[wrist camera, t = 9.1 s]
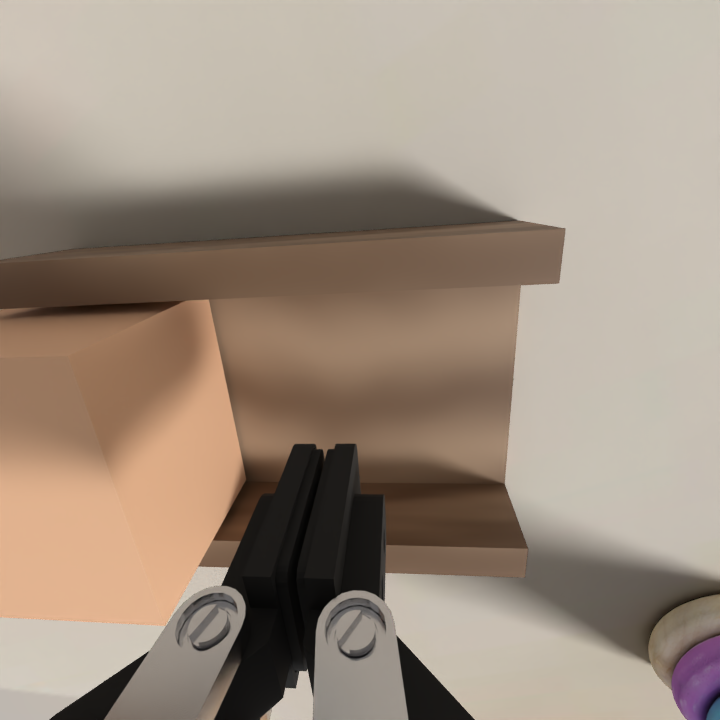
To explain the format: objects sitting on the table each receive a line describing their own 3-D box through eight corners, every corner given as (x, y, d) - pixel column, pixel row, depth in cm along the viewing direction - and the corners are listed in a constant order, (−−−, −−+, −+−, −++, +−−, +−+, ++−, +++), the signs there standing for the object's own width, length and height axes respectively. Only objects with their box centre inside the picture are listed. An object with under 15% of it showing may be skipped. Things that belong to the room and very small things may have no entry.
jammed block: (40, 298, 18) (-196, 363, 11) (206, 290, 17) (68, 356, 10) (106, 478, 22) (-39, 615, 15) (246, 479, 21) (165, 625, 14)
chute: (72, 249, 19) (-37, 265, 14) (518, 220, 16) (565, 228, 12) (150, 491, 24) (89, 562, 19) (498, 495, 21) (524, 577, 17)
